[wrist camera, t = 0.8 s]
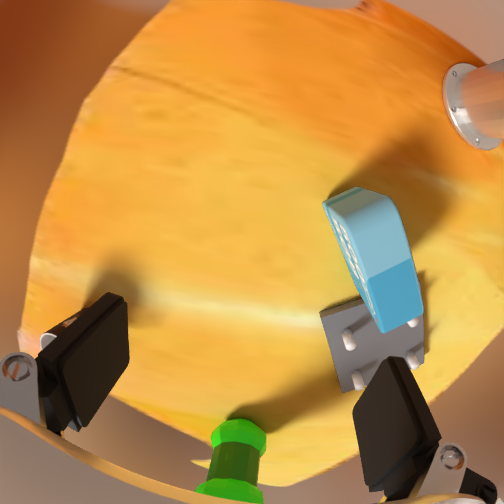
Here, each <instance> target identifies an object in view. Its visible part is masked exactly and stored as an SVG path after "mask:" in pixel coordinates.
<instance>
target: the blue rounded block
mask: <svg viewBox="0 0 504 504" xmlns="http://www.w3.org/2000/svg"><path fill="white" fill-rule="evenodd" d="M322 204H323V208H324V210H325V213H326V215H327V217H328V220H329V222H330V224H331V227H332V229H333V231H334V234H335V236H336V238H337V241H338V243H339V246H340V248H341V251H342V253H343V256H344V258H345V261H346V263H347V266H348V268H349V271H350V273H351V276H352V279H353V281H354V283H355V286H356V288H357V290H358V292H359V294H360V295H361V297H362V299H363V301H364V302H365V304H366V306H367V308H368V309H369V311H370V313H371V315H372V317H373V318H374V320H375V322H376V324H377V326H378V328H379V330H380V331H381V332H382V333H386V332H389V331H391V330H393V329H395V328H397V327H399V326H401V325H403V324H405V323H407V322H409V321H411V320H412V319H414V318H416V317H418V316H420V315H422V314H423V312H424V305H423V300H422V295H421V290H420V285H419V281H418V277H417V272H416V268H415V264H414V260H413V257H412V253H411V249H410V246H409V242H408V239H407V235H406V232H405V229H404V226H403V222H402V219H401V216H400V214H399V211H398V209H397V207H396V205H395V204H394V202H393V201H392V200H391V198H389V197H388V196H386V195H384V194H380V193H377V192H374V191H371V190H367V189H364V188H361V187H357V186H356V187H353V188H351V189H349V190H347V191H345V192H342V193H340V194H338V195H336V196H334V197H331V198H329V199H327V200H325V201H323V203H322Z"/></svg>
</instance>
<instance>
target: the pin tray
mask: <svg viewBox="0 0 504 504" xmlns="http://www.w3.org/2000/svg"><path fill="white" fill-rule="evenodd" d="M418 281H419V280H418ZM419 285H420V281H419ZM420 290H421V285H420ZM319 313H320V317H321V321H322V324H323V327H324V331H325V334H326V337H327V341H328V344H329V348H330V351H331V354H332V358H333V362H334V365H335V369H336V372H337V376H338V380H339V383H340V387H341V391H342V393H345V392H348V391H351V390H354V389H356V390H358V391H359V390H362V389H363V388H364V387H365V386H367V385H368V384H369V382H370V381H371V379H372V377H373V376H374V374H375V372H376V371H377V369H378V367H379V365H380V364H381V362H382V361H383V360H384V359H386V358H387V357H388V356H397V357H403V358H404V359H405V361H406V363H407V365H408V366H409V368H410V369H412V370H415V369H417V368H418V367H419V366H420V365H421V364H423V363H424V324H423V314H422V315H420V316H418V317H416V318H414V319H412V320H411V321H409V322H407V323H405V324H403V325H401V326H399V327H397V328H395V329H393V330H391V331H389V332H386V333H382V332H381V331H380V330H379V328H378V326H377V324H376V322H375V320H374V318H373V317H372V315H371V313H370V311H369V309H368V308H367V306H366V304H365V302H364V301H363V299H362V298H360V299H357V300H354V301H351V302H349V303H346V304H343V305H340V306H337V307H334V308H331V309H328V310H324V311H321V312H319Z"/></svg>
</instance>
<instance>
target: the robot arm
mask: <svg viewBox="0 0 504 504" xmlns="http://www.w3.org/2000/svg"><path fill="white" fill-rule="evenodd" d="M442 92H443V100H444V105H445V108H446V111H447V114H448V116H449V119H450V121H451V123H452V124H453V126H454V128H455V130H456V131H457V132H458V134H459V135H460V136H461V137H462V138H463V139H464V140H465V141H466V142H467V143H468V144H469V145H471V146H472V147H474V148H477V149H480V150H491V149H494V148H496V147H497V146H499V144H500V143H501V142H502V140H503V139H504V59H502V60H499V61H497V62H494V63H491V64H488V65H485V66H483V67H480V68H477V67H475V66H474V65H471V64H468V63H459V64H456V65H454V66H452V67H451V68H449V69H448V71H447V72H446V74H445V76H444V79H443V86H442ZM129 359H130V356H129V340H128V314H127V303H126V302H124V299H123V297H122V296H119V295H116V294H113V293H110V292H108V293H106V294H105V295H103V296H102V297H101V298H100V299H99V300H98V301H96V302H95V303H94V304H93V305H92V306H91V307H89V308H88V309H87V310H86V311H85V312H84V313H82V314H81V315H80V316H79V317H78V318H77V319H76V320H74V321H73V322H72V323H71V324H70V325H69V326H68V327H67V328H66V329H64V330H63V331H62V332H61V333H60V334H59V335H58V336H57V337H56V338H55V339H53V340H52V341H51V342H50V343H49V344H48V345H47V346H46V347H45V348H44V349H43V350H42V351H41V352H40V353H39V354H38V357H37V358H35V359H34V358H33V357H32V356H31V355H29V354H27V353H24V352H14V353H11V354H8V355H6V356H5V357H4V358H3V359H2V360H1V362H0V504H256V503H248V502H241V501H235V500H229V499H224V498H219V497H214V496H209V495H205V494H201V493H196V492H192V491H189V490H185V489H181V488H178V487H174V486H171V485H168V484H165V483H162V482H158V481H155V480H153V479H150V478H147V477H144V476H142V475H139V474H136V473H134V472H131V471H129V470H126V469H124V468H121V467H119V466H117V465H115V464H112V463H110V462H108V461H106V460H104V459H102V458H100V457H97V456H95V455H93V454H91V453H89V452H87V451H85V450H83V449H81V448H80V447H77V446H76V445H74V444H72V443H70V442H68V441H67V440H65V436H64V432H63V431H64V430H65V429H66V427H67V426H69V427H70V428H72V429H73V430H75V431H77V432H79V431H80V429H81V428H82V426H83V427H86V426H87V425H88V424H89V422H90V421H91V419H92V418H93V416H94V415H95V413H96V412H97V410H98V409H99V407H100V406H101V404H102V403H103V401H104V400H105V398H106V397H107V395H108V394H109V392H110V391H111V389H112V388H113V387H114V385H115V384H116V382H117V381H118V379H119V378H120V376H121V375H122V373H123V372H124V370H125V369H126V368H127V366H128V364H129ZM352 415H353V420H354V425H355V430H356V435H357V440H358V446H359V451H360V457H361V462H362V468H363V474H364V481H365V484H366V485H367V486H369V492H376V491H382V490H384V494H385V495H384V496H383V498H382V499H381V501H380V502H379V503H374V504H504V503H503V502H502V500H501V499H500V498H498V499H497V489H496V487H495V485H494V484H493V483H492V482H491V481H490V480H488V479H486V478H484V477H482V476H480V475H479V474H477V473H475V472H473V471H472V470H470V469H468V468H467V467H466V466H467V456H466V453H465V451H464V450H463V449H462V448H461V447H460V446H459V445H458V444H456V443H453V442H445V443H442V444H441V445H440V446H439V443H438V441H439V440H440V439H441V438H442V437H441V435H440V433H439V430H438V428H437V426H436V423H435V421H434V419H433V416H432V414H431V412H430V410H429V408H428V405H427V403H426V401H425V399H424V397H423V395H422V393H421V391H420V388H419V386H418V384H417V382H416V380H415V378H414V376H413V374H412V372H411V370H410V368H409V366H408V365H407V363H406V361H405V359H404V358H403V357H397V356H388V357H387V358H386V359H384V360H383V361H382V362H381V364H380V365H379V367H378V369H377V371H376V372H375V374H374V376H373V377H372V379H371V381H370V382H369V384H368V386H367V387H366V389H365V391H364V392H363V394H362V395H361V397H360V398H359V400H358V401H357V403H356V404H355V406H354V408H353V413H352Z"/></svg>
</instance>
